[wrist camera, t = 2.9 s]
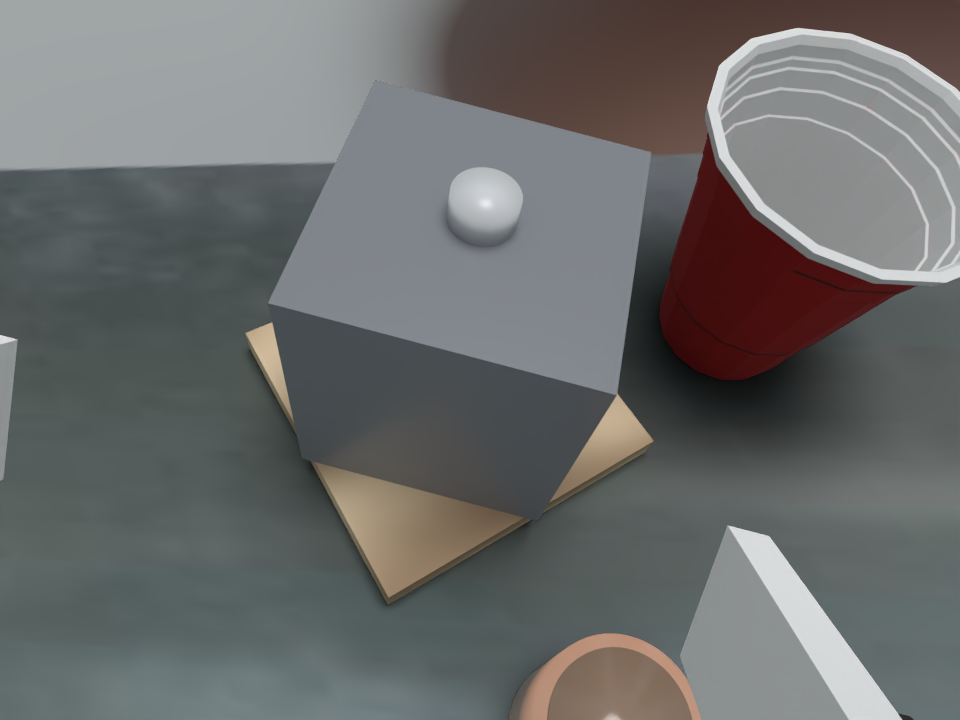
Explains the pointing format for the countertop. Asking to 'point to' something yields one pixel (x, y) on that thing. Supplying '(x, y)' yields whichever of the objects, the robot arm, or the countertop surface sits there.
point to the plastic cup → (811, 199)
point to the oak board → (438, 496)
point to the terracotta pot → (606, 684)
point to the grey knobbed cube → (460, 300)
